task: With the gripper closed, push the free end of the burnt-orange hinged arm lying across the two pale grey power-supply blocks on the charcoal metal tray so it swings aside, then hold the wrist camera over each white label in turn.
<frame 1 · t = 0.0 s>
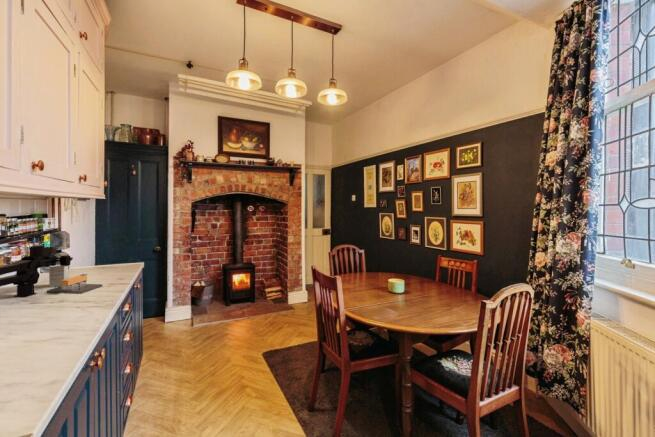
hand: (65, 258, 189), 17 cm above the countertop, tool horizontal, fingers open, 9 cm apart
swing arm: (75, 279, 178), point 6 cm above the countertop, hinge at 0.0°
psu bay: (75, 289, 178), on the countertop
supplement box: (58, 285, 185), on the countertop
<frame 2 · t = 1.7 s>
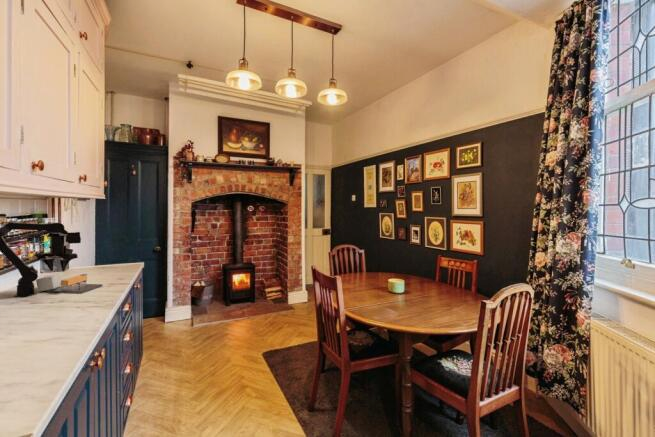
hand: (57, 270, 173), 12 cm above the countertop, tool pointing down, fingers open, 6 cm apart
supplement box: (55, 280, 182), point 4 cm above the countertop, touching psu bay
everything else where it was.
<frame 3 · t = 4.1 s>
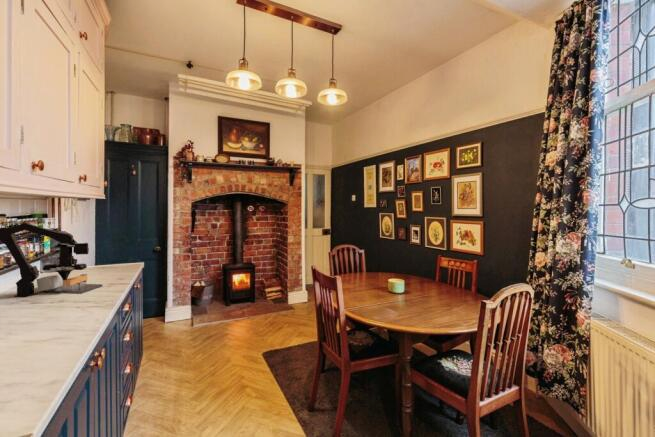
hand: (65, 281, 173), 6 cm above the countertop, tool pointing down, fingers closed
swing arm: (76, 279, 178), point 6 cm above the countertop, hinge at 4.9°, touching gripper
everything else where it was.
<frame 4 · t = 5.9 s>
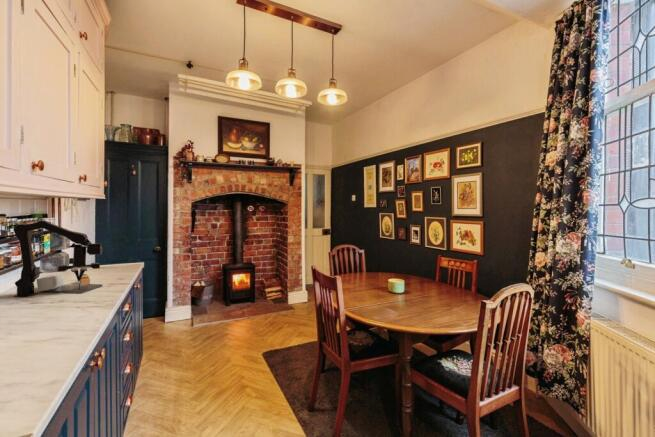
hand: (78, 281, 174), 6 cm above the countertop, tool pointing down, fingers closed
swing arm: (84, 279, 180), point 6 cm above the countertop, hinge at 41.4°, touching gripper
everything else where it was.
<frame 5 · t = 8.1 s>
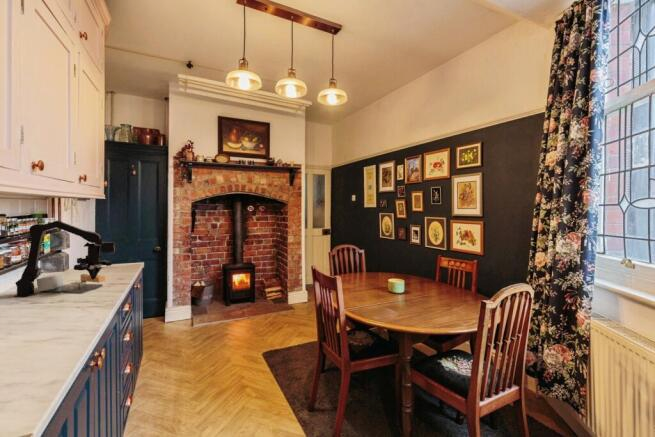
hand: (93, 279, 179), 6 cm above the countertop, tool pointing down, fingers closed
swing arm: (91, 278, 183), point 6 cm above the countertop, hinge at 75.8°
everything else where it was.
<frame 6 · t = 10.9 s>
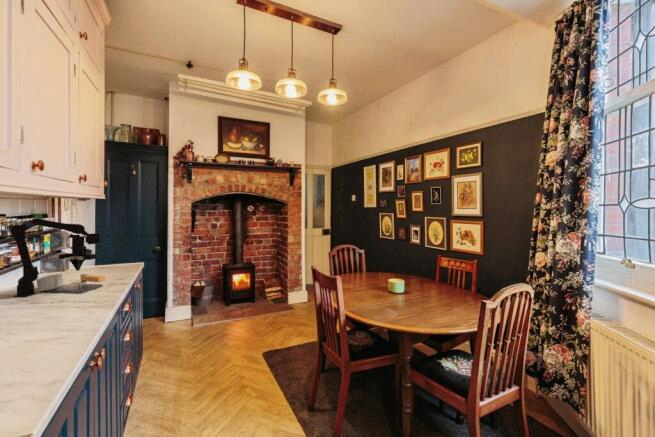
hand: (77, 270, 179), 11 cm above the countertop, tool pointing down, fingers closed
nothing on the countertop moved.
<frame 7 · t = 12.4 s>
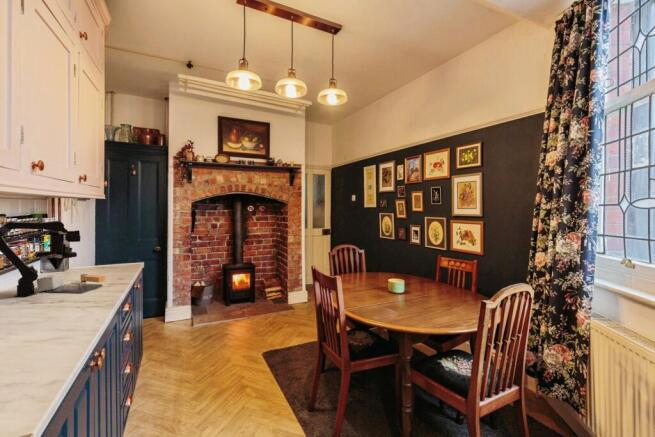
hand: (56, 269, 173), 13 cm above the countertop, tool pointing down, fingers closed
nothing on the countertop moved.
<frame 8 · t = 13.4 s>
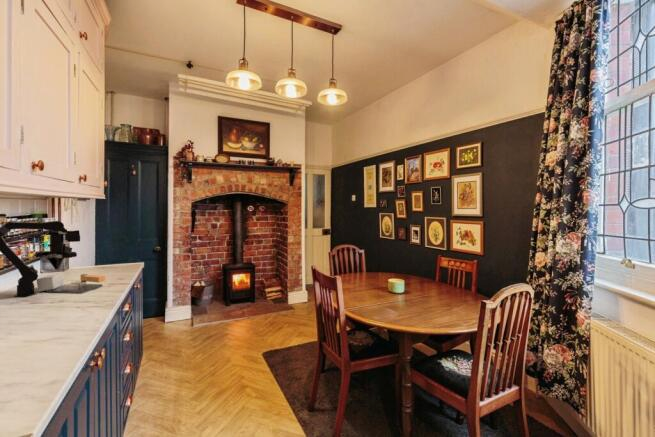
hand: (56, 269, 173), 13 cm above the countertop, tool pointing down, fingers closed
nothing on the countertop moved.
at the end: swing arm at +76° (first picture: +0°) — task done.
